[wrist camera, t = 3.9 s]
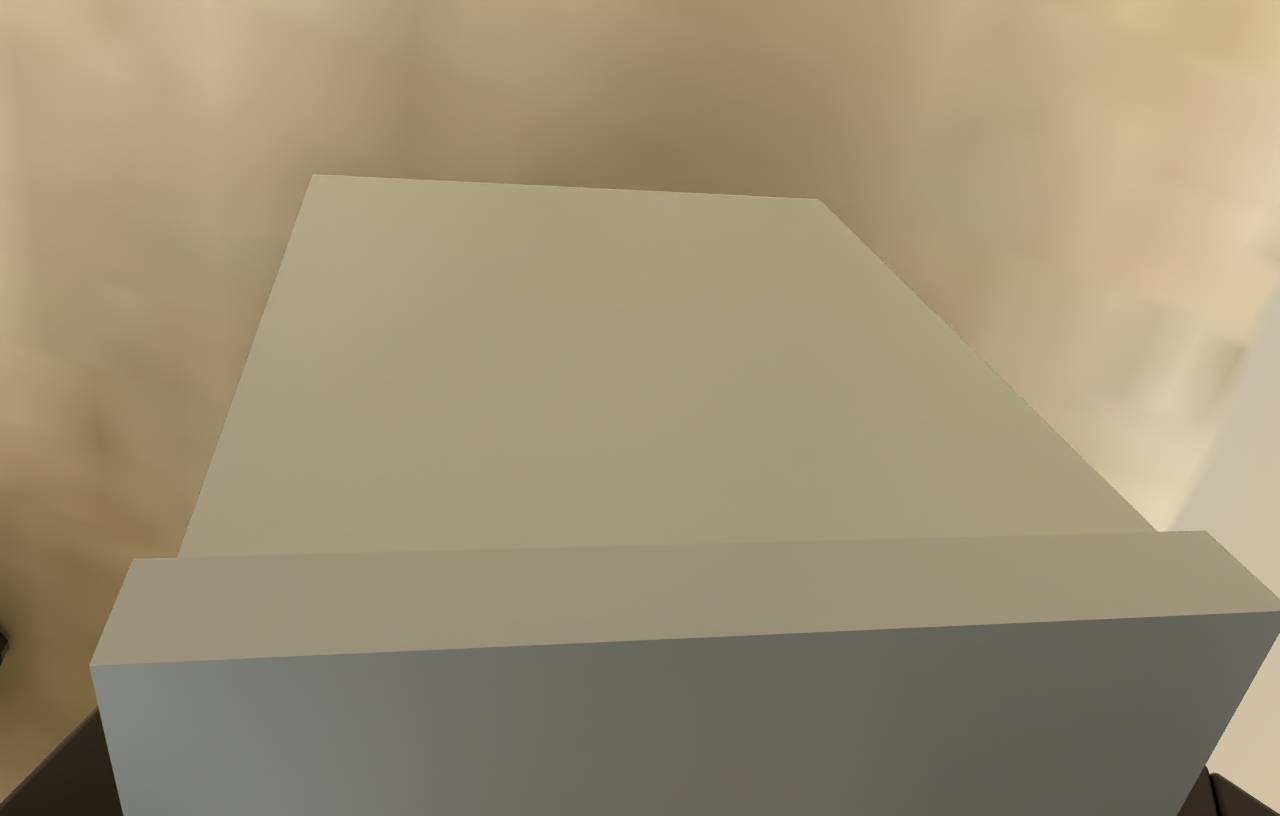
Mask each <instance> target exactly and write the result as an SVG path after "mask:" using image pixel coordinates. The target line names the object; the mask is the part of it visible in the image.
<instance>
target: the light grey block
mask: <svg viewBox="0 0 1280 816" xmlns="http://www.w3.org/2000/svg"><path fill="white" fill-rule="evenodd" d="M1279 633H1280V599H1279V598H1278V597H1277V596H1276V595H1275V594H1274V593H1273V592H1271V591H1270V590H1269V589H1268V588H1267V587H1266V586H1265V585H1264V584H1263V583H1262V582H1261V581H1260V580H1258V579H1257V578H1256V577H1255V576H1254V575H1253V574H1252V573H1251V572H1250V571H1248V569H1247V568H1245V567H1244V566H1243V565H1242V564H1241V563H1240V562H1239V561H1238V560H1237V559H1236V558H1235V557H1233V556H1232V555H1231V554H1230V553H1229V552H1228V551H1227V550H1226V549H1225V548H1224V547H1223V546H1222V545H1220V544H1219V543H1218V542H1217V541H1216V540H1215V539H1214V538H1213V537H1212V536H1211V535H1210V534H1209V533H1207V532H1206V531H1178V532H1157V531H1156V530H1155V529H1154V528H1153V527H1152V526H1151V525H1150V524H1149V523H1148V522H1147V521H1146V520H1145V519H1144V518H1143V517H1142V516H1141V515H1140V514H1139V513H1138V512H1137V511H1136V510H1135V509H1134V508H1133V507H1132V506H1131V505H1130V504H1129V503H1128V502H1127V501H1126V500H1125V499H1124V498H1123V497H1122V496H1121V495H1120V494H1119V493H1118V492H1117V491H1116V490H1115V489H1114V488H1113V487H1112V486H1111V485H1110V484H1109V483H1108V482H1107V481H1106V480H1105V479H1103V478H1102V477H1101V476H1100V475H1099V474H1098V473H1097V472H1096V471H1095V470H1094V469H1093V468H1092V467H1091V466H1090V465H1089V464H1088V463H1087V462H1086V461H1085V460H1084V459H1083V458H1082V457H1081V456H1080V455H1079V454H1078V453H1077V452H1076V451H1075V450H1074V449H1073V448H1072V447H1071V446H1070V445H1069V444H1068V443H1067V442H1066V441H1065V440H1064V439H1063V438H1062V437H1061V436H1060V435H1059V434H1058V433H1057V432H1056V431H1055V430H1054V429H1053V428H1052V427H1051V426H1050V425H1049V424H1048V423H1047V422H1046V421H1044V420H1043V419H1042V418H1041V417H1040V416H1039V415H1038V414H1037V413H1036V412H1035V411H1034V410H1033V409H1032V408H1031V407H1030V406H1029V405H1028V404H1027V403H1026V402H1025V401H1024V400H1023V399H1022V398H1021V397H1020V396H1019V395H1018V394H1017V393H1016V392H1015V391H1014V390H1013V389H1012V388H1011V387H1010V386H1009V385H1008V384H1007V383H1006V382H1005V381H1004V380H1003V379H1002V378H1001V377H1000V376H999V375H998V374H997V373H996V372H995V371H994V370H993V369H992V368H991V367H990V366H989V365H988V364H987V363H985V362H984V361H983V360H982V359H981V358H980V357H979V356H978V355H977V354H976V353H975V352H974V351H973V350H972V349H971V348H970V347H969V346H968V345H967V344H966V343H965V342H964V341H963V340H962V339H961V338H960V337H959V336H958V335H957V334H956V333H955V332H954V331H953V330H952V329H951V328H950V327H949V326H948V325H947V324H946V323H945V322H944V321H943V320H942V319H941V318H940V317H939V316H938V315H937V314H936V313H935V312H934V311H933V310H932V309H931V308H930V307H929V306H928V305H926V304H925V303H924V302H923V301H922V300H921V299H920V298H919V297H918V296H917V295H916V294H915V293H914V292H913V291H912V290H911V289H910V288H909V287H908V286H907V285H906V284H905V283H904V282H903V281H902V280H901V279H900V278H899V277H898V276H897V275H896V274H895V273H894V272H893V271H892V270H891V269H890V268H889V267H888V266H887V265H886V264H885V263H884V262H883V261H882V260H881V259H880V258H879V257H878V256H877V255H876V254H875V253H874V252H873V251H872V250H871V249H870V248H868V247H867V246H866V245H865V244H864V243H863V242H862V241H861V240H860V239H859V238H858V237H857V236H856V235H855V234H854V233H853V232H852V231H851V230H850V229H849V228H848V227H847V226H846V225H845V224H844V223H843V222H842V221H841V220H840V219H839V218H838V217H837V216H836V215H835V214H834V213H833V212H832V211H831V210H830V209H829V208H828V207H827V206H826V205H825V204H824V203H823V202H822V201H821V200H820V199H811V198H791V197H771V196H750V195H730V194H709V193H689V192H669V191H648V190H628V189H607V188H587V187H567V186H546V185H526V184H505V183H485V182H465V181H444V180H424V179H403V178H383V177H362V176H342V175H322V174H312V177H311V180H310V182H309V185H308V188H307V191H306V194H305V197H304V199H303V202H302V205H301V208H300V211H299V214H298V216H297V219H296V222H295V225H294V228H293V231H292V233H291V236H290V239H289V242H288V245H287V247H286V250H285V253H284V256H283V259H282V262H281V264H280V267H279V270H278V273H277V276H276V279H275V281H274V284H273V287H272V290H271V293H270V296H269V298H268V301H267V304H266V307H265V310H264V313H263V315H262V318H261V321H260V324H259V327H258V330H257V332H256V335H255V338H254V341H253V344H252V347H251V349H250V352H249V355H248V358H247V361H246V364H245V366H244V369H243V372H242V375H241V378H240V381H239V383H238V386H237V389H236V392H235V395H234V398H233V400H232V403H231V406H230V409H229V412H228V415H227V417H226V420H225V423H224V426H223V429H222V432H221V434H220V437H219V440H218V443H217V446H216V448H215V451H214V454H213V457H212V460H211V463H210V465H209V468H208V471H207V474H206V477H205V480H204V482H203V485H202V488H201V491H200V494H199V497H198V499H197V502H196V505H195V508H194V511H193V514H192V516H191V519H190V522H189V525H188V528H187V531H186V533H185V536H184V539H183V542H182V545H181V548H180V550H179V553H178V556H177V557H175V558H137V559H133V560H132V562H131V565H130V567H129V570H128V572H127V575H126V577H125V579H124V582H123V584H122V587H121V589H120V592H119V594H118V596H117V599H116V601H115V604H114V606H113V608H112V611H111V613H110V616H109V618H108V621H107V623H106V625H105V628H104V630H103V633H102V635H101V638H100V640H99V642H98V645H97V647H96V650H95V652H94V655H93V657H92V659H91V662H90V664H89V668H90V673H91V677H92V681H93V686H94V690H95V694H96V699H97V703H98V707H99V712H100V716H101V720H102V725H103V729H104V733H105V738H106V742H107V747H108V751H109V755H110V760H111V764H112V768H113V773H114V777H115V781H116V786H117V790H118V794H119V799H120V803H121V807H122V812H123V816H1177V814H1178V812H1179V811H1180V809H1181V807H1182V805H1183V804H1184V802H1185V800H1186V798H1187V796H1188V795H1189V793H1190V791H1191V789H1192V788H1193V786H1194V784H1195V782H1196V780H1197V779H1198V777H1199V775H1200V773H1201V772H1202V770H1203V768H1204V766H1205V764H1206V763H1207V761H1208V759H1209V757H1210V755H1211V754H1212V752H1213V750H1214V748H1215V747H1216V745H1217V743H1218V741H1219V740H1220V738H1221V736H1222V734H1223V732H1224V731H1225V729H1226V727H1227V725H1228V723H1229V722H1230V720H1231V718H1232V716H1233V715H1234V713H1235V711H1236V709H1237V708H1238V706H1239V704H1240V702H1241V700H1242V699H1243V697H1244V695H1245V693H1246V692H1247V690H1248V688H1249V686H1250V684H1251V683H1252V681H1253V679H1254V677H1255V676H1256V674H1257V671H1258V670H1259V668H1260V667H1261V665H1262V663H1263V661H1264V659H1265V658H1266V656H1267V654H1268V652H1269V651H1270V649H1271V647H1272V645H1273V643H1274V642H1275V640H1276V638H1277V636H1278V635H1279Z"/></svg>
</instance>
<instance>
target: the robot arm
mask: <svg viewBox="0 0 1280 816" xmlns="http://www.w3.org/2000/svg"><path fill="white" fill-rule="evenodd" d="M8 649H9V644H8V640H7V639H6V638H5V637H4V635H3V634H2V633H1V632H0V665H1V663H2V661H3V659H4V658H5V656H6V654H7V651H8ZM0 816H123V812H122V807H121V803H120V799H119V794H118V790H117V786H116V781H115V777H114V773H113V768H112V764H111V760H110V755H109V751H108V747H107V742H106V738H105V733H104V729H103V725H102V720H101V716H100V712H99V707H97V708H96V709H95V710H94V711H93V712H92V713H91V714H90V715H89V716H88V717H87V718H86V719H85V720H84V721H83V722H82V723H81V724H80V725H79V726H78V727H77V728H76V729H75V730H74V731H73V732H72V733H71V734H70V735H69V736H68V737H67V738H66V739H65V740H64V741H63V742H62V743H61V744H60V745H59V746H58V747H57V748H56V749H55V750H54V751H53V752H52V753H51V754H50V755H49V756H48V757H47V758H46V759H45V760H44V761H43V762H42V763H41V764H40V765H39V766H38V767H37V768H36V769H35V770H34V771H33V772H32V773H31V774H30V775H29V776H28V777H27V778H26V779H25V780H24V781H23V782H22V783H21V784H20V785H19V786H18V787H17V788H16V789H15V790H14V791H13V792H12V793H11V794H10V795H9V796H8V797H7V798H6V799H5V800H4V801H3V802H2V803H1V804H0ZM1177 816H1280V814H1278V813H1277V812H1275V811H1274V810H1272V809H1271V808H1269V807H1268V806H1266V805H1265V804H1263V803H1261V802H1260V801H1259V800H1257V799H1255V798H1254V797H1253V796H1251V795H1250V794H1248V793H1246V792H1245V791H1244V790H1242V789H1241V788H1239V787H1238V786H1236V785H1235V784H1233V783H1232V782H1230V781H1229V780H1227V779H1226V778H1224V777H1223V776H1221V775H1220V774H1218V773H1212V774H1209V772H1208V769H1207V767H1206V766H1204V768H1203V770H1202V772H1201V773H1200V775H1199V777H1198V779H1197V780H1196V782H1195V784H1194V786H1193V788H1192V789H1191V791H1190V793H1189V795H1188V796H1187V798H1186V800H1185V802H1184V804H1183V805H1182V807H1181V809H1180V811H1179V812H1178V814H1177Z"/></svg>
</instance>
